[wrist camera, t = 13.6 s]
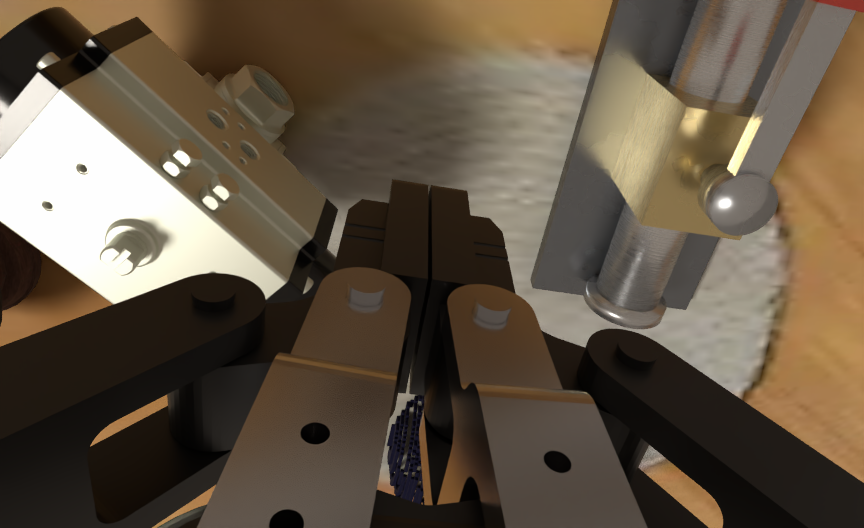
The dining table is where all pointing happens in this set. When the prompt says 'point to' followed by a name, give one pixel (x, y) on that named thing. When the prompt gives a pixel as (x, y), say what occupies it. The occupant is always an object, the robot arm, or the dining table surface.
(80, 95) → the ball valve
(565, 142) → the dining table surface
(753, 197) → the valve lever
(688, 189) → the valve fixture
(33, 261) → the black ball on base
